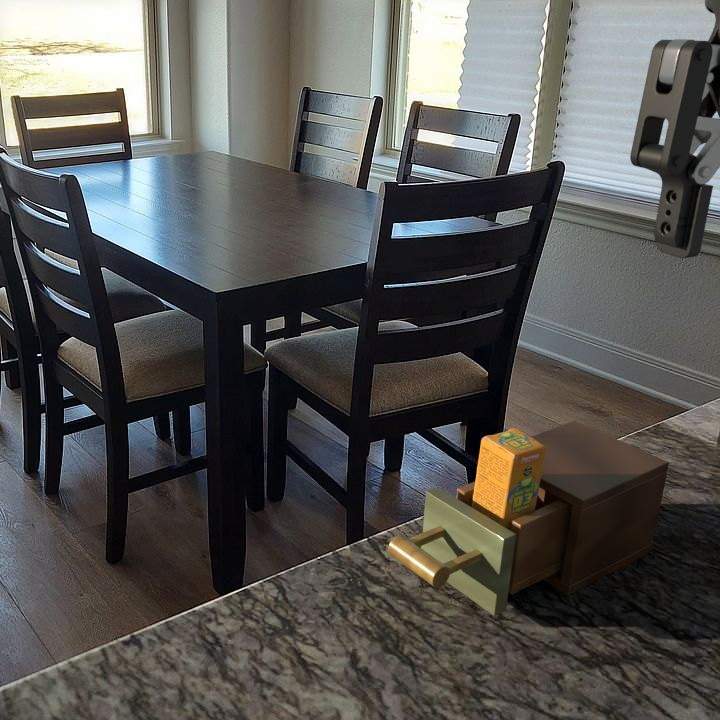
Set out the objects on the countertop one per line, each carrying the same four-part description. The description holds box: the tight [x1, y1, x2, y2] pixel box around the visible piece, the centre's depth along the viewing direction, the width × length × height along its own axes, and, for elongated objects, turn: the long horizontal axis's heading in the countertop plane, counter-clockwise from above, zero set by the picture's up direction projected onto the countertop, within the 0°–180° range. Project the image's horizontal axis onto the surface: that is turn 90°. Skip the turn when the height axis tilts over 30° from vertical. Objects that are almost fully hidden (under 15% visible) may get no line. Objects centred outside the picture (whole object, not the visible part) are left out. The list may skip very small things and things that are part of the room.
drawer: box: [387, 481, 573, 617], centre depth 62 cm, size 14×7×6 cm, turn 122°
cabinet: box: [530, 420, 670, 596], centre depth 67 cm, size 10×9×8 cm
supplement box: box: [472, 427, 546, 531], centre depth 62 cm, size 3×3×10 cm
